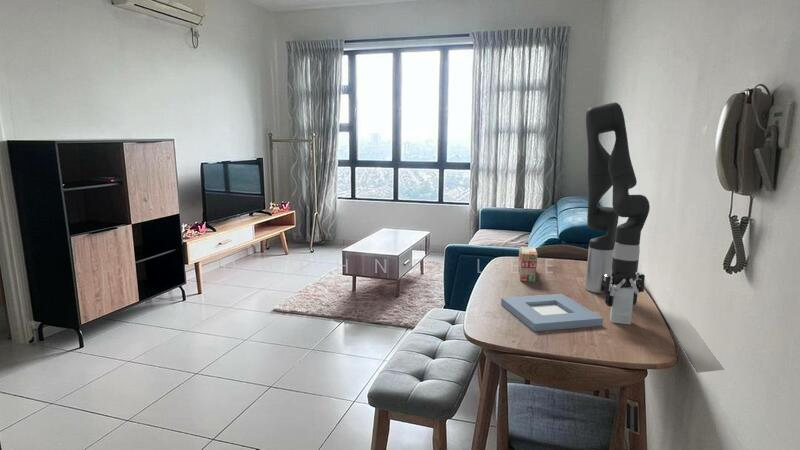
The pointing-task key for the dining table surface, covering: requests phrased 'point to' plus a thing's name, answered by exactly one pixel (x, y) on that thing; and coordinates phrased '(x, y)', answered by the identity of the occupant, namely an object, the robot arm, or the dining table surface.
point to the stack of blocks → (527, 264)
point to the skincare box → (622, 306)
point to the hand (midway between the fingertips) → (620, 305)
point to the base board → (550, 312)
